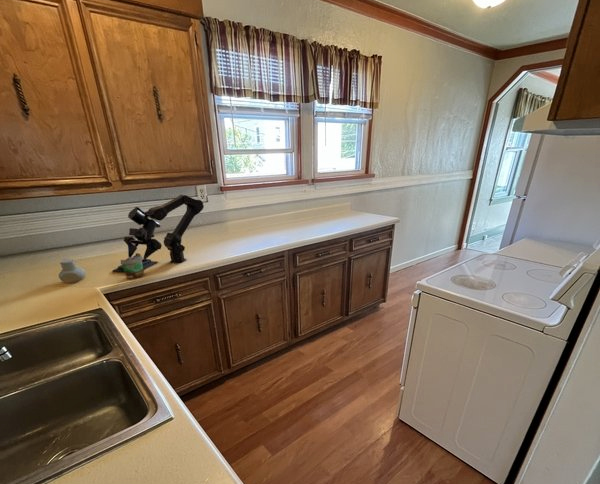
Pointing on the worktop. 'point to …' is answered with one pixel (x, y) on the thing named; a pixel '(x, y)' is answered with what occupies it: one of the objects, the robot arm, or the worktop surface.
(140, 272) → the food container
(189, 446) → the worktop surface
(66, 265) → the air freshener
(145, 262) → the pad
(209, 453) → the worktop surface
